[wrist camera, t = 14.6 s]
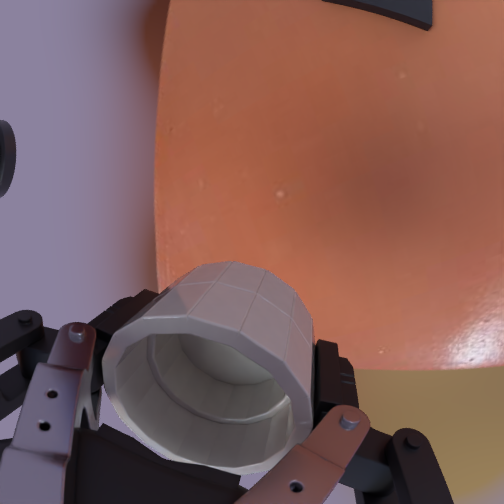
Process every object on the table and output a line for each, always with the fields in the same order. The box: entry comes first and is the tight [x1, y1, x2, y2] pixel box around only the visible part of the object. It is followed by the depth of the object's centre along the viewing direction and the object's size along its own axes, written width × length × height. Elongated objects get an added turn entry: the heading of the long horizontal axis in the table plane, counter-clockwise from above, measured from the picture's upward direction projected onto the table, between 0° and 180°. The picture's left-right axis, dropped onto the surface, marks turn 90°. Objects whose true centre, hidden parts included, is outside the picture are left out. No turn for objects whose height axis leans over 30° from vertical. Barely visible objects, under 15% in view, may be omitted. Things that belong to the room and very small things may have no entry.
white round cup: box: [102, 261, 315, 475], centre depth 10 cm, size 6×6×5 cm
